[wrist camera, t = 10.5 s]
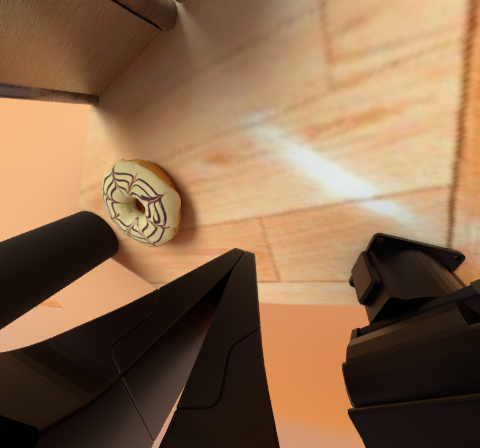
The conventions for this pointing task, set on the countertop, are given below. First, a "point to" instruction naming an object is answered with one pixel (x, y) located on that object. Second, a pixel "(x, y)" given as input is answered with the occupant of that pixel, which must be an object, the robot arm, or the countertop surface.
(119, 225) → the decorated donut
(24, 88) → the gate frame
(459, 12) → the countertop surface
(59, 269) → the bottle
